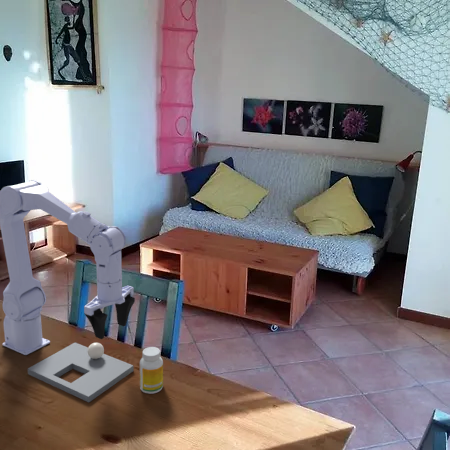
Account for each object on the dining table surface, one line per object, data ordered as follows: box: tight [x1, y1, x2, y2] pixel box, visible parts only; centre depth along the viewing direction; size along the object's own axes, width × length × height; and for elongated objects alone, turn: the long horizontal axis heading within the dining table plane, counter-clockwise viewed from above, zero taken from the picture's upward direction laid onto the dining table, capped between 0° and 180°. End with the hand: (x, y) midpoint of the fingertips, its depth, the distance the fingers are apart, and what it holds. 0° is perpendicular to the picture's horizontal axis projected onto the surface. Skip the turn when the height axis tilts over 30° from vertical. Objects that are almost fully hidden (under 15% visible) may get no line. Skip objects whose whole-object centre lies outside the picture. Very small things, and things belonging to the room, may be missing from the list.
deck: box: [27, 342, 134, 403], centre depth 123 cm, size 20×15×2 cm
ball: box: [87, 342, 105, 359], centre depth 126 cm, size 4×4×4 cm
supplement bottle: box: [139, 346, 164, 395], centre depth 117 cm, size 5×5×10 cm
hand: (111, 331), depth 122 cm, fingers open, 7 cm apart
